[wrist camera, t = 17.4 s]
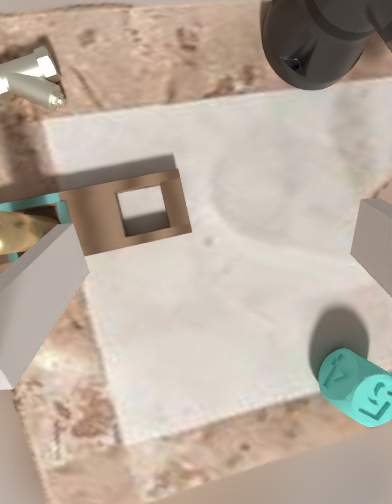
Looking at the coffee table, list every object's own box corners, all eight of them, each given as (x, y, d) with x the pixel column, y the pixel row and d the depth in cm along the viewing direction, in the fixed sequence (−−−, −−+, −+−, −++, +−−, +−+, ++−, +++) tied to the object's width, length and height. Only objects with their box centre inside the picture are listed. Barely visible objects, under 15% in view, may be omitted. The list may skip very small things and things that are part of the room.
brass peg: (57, 213, 39) (2, 204, 26) (65, 243, 40) (16, 250, 26) (25, 220, 39) (-49, 214, 25) (34, 250, 39) (-34, 261, 26)
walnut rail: (177, 172, 41) (178, 168, 38) (190, 232, 42) (192, 232, 39) (-8, 209, 38) (-21, 207, 36) (10, 272, 39) (-1, 275, 37)
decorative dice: (310, 382, 47) (340, 413, 39) (333, 341, 47) (369, 363, 39) (347, 402, 48) (384, 436, 40) (370, 361, 48) (412, 387, 40)
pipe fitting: (75, 107, 39) (52, 57, 38) (67, 96, 36) (41, 40, 34) (20, 128, 39) (-5, 78, 37) (6, 119, 35) (-23, 63, 33)
